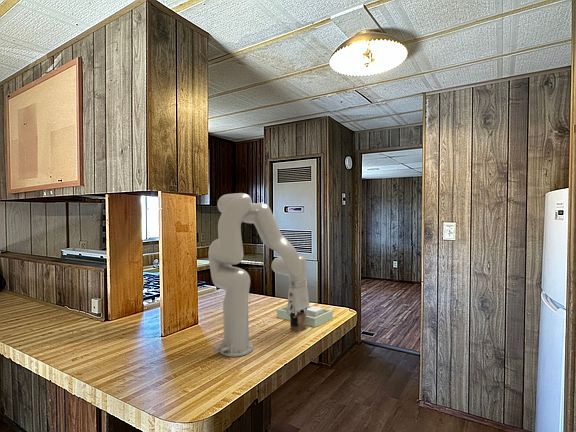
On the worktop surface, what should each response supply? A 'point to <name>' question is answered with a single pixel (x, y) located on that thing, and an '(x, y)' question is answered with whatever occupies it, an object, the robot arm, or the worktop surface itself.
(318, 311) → the white block
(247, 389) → the worktop surface
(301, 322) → the walnut block
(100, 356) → the worktop surface
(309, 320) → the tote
